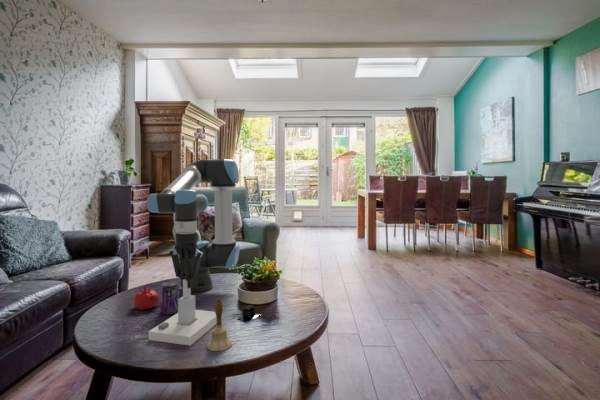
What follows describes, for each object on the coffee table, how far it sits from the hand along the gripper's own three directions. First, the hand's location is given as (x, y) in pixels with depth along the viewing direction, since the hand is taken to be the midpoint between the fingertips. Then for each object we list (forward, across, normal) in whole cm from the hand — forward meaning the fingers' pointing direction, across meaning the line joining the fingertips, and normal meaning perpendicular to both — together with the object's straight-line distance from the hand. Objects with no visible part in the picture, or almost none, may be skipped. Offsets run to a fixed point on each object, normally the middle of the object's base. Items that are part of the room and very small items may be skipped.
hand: (186, 296), depth 129 cm
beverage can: (+13, -16, +13) cm, 24 cm away
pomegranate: (+13, -29, +15) cm, 35 cm away
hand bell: (+13, +17, -8) cm, 23 cm away
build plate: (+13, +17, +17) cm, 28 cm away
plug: (+12, 0, 0) cm, 12 cm away
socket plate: (+12, 0, 0) cm, 12 cm away
